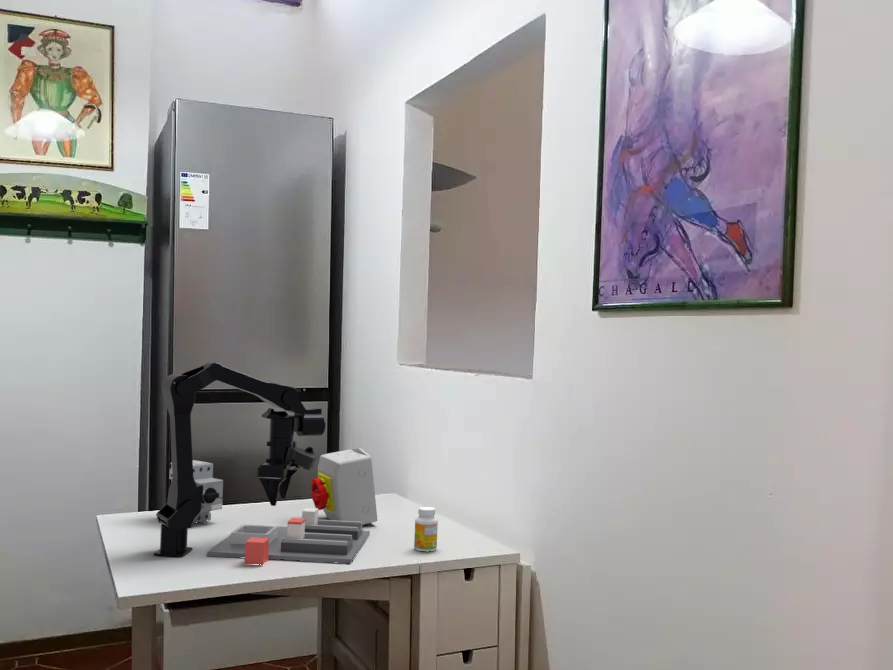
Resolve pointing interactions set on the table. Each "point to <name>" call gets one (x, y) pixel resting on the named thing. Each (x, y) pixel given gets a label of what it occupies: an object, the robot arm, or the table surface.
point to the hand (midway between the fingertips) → (278, 501)
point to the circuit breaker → (206, 489)
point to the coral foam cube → (256, 550)
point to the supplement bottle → (426, 530)
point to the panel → (299, 542)
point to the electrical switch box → (345, 486)
